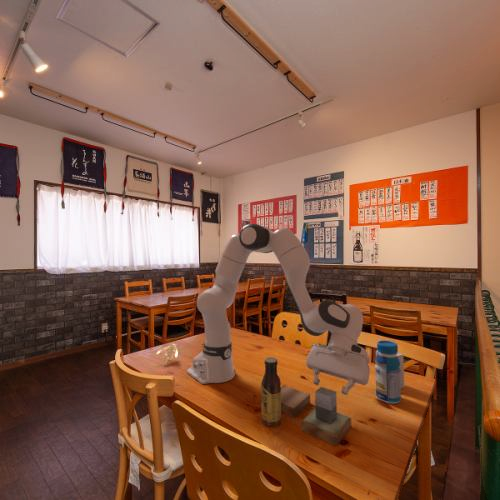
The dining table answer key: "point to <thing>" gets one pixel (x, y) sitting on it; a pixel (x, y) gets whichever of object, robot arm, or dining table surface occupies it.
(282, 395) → the stand left
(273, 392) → the sauce bottle
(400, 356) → the small box
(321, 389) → the housing
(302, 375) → the dining table surface
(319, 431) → the stand right
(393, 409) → the dining table surface
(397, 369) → the beverage bottle
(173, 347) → the shrimp
